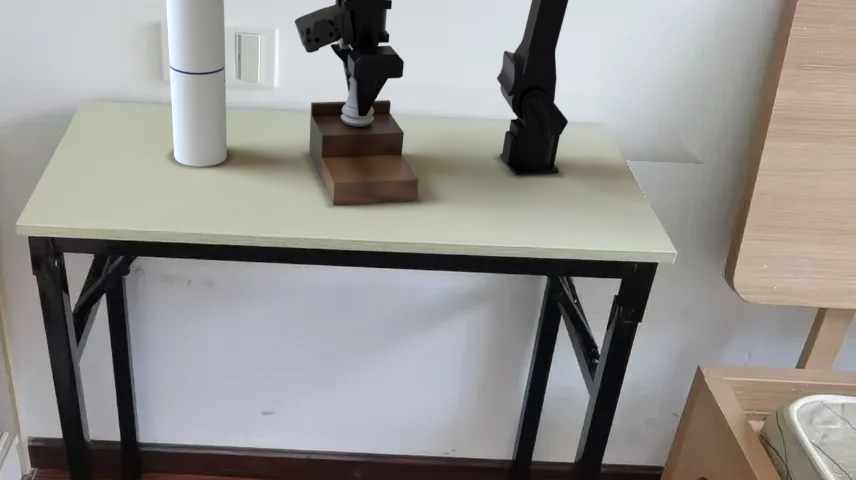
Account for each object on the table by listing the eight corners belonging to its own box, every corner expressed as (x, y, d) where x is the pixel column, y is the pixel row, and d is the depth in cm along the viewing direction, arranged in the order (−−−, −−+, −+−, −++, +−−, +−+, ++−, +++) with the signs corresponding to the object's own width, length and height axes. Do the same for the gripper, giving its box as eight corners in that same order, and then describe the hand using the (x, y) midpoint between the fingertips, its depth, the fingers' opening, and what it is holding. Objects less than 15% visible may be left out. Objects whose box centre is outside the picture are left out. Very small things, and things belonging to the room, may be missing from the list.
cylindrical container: (164, 160, 131) (153, -34, 116) (190, 141, 136) (182, -46, 122) (211, 170, 129) (205, -26, 114) (235, 151, 134) (233, -38, 120)
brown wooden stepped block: (385, 151, 137) (389, 99, 133) (416, 200, 124) (422, 145, 120) (309, 154, 135) (310, 102, 130) (333, 205, 122) (336, 149, 118)
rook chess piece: (341, 113, 131) (343, 55, 126) (374, 115, 131) (377, 57, 126) (340, 126, 127) (342, 66, 123) (373, 128, 127) (377, 68, 123)
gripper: (288, -31, 125) (286, 87, 134) (316, 9, 110) (312, 139, 119) (371, -32, 127) (364, 84, 136) (409, 8, 112) (399, 135, 121)
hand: (358, 109), depth 128 cm, fingers closed on rook chess piece, 4 cm apart
